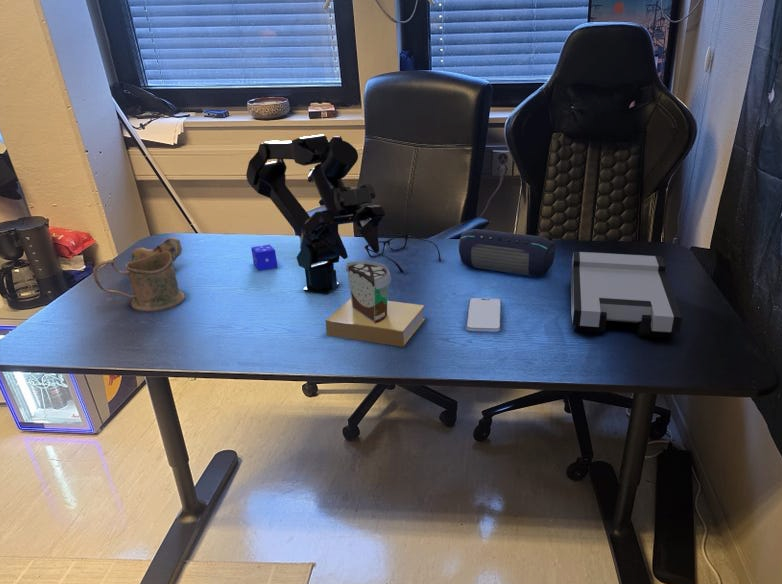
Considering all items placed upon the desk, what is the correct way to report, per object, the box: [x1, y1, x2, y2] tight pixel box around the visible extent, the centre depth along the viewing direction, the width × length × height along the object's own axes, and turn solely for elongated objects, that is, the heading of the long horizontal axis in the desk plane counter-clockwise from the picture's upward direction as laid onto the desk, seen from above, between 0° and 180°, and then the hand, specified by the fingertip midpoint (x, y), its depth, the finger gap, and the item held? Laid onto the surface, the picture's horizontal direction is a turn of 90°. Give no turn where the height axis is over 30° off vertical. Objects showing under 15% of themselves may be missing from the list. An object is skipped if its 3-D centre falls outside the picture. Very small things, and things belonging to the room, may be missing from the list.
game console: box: [570, 251, 683, 339], centre depth 139 cm, size 21×32×8 cm, turn 171°
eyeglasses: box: [364, 234, 442, 274], centre depth 170 cm, size 16×16×4 cm
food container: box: [345, 260, 392, 323], centre depth 130 cm, size 12×6×10 cm, turn 37°
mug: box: [92, 251, 186, 312], centre depth 141 cm, size 12×18×12 cm, turn 137°
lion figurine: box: [130, 236, 183, 263], centre depth 160 cm, size 15×5×9 cm, turn 103°
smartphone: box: [465, 297, 502, 333], centre depth 139 cm, size 7×1×15 cm
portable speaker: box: [458, 228, 556, 277], centre depth 161 cm, size 25×10×10 cm, turn 68°
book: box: [325, 297, 426, 348], centre depth 133 cm, size 17×13×4 cm
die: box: [250, 244, 278, 272], centre depth 165 cm, size 5×5×5 cm
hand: (362, 255), depth 135 cm, fingers open, 9 cm apart
